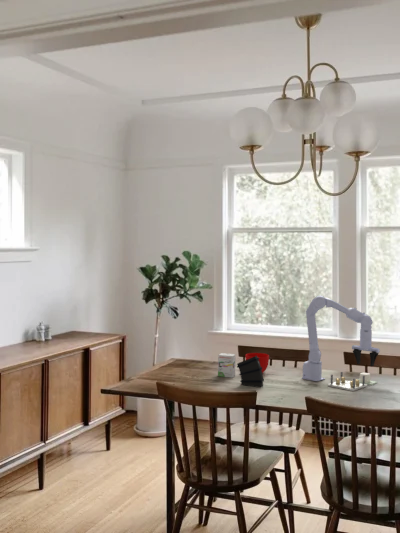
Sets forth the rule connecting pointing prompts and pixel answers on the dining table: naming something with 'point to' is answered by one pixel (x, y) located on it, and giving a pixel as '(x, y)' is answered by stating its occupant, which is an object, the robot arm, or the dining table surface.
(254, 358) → the magazine
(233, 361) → the ink box
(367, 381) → the sage board
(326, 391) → the dining table surface
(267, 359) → the ceramic cup
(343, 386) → the plate
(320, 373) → the robot arm
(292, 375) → the dining table surface
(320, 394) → the dining table surface
